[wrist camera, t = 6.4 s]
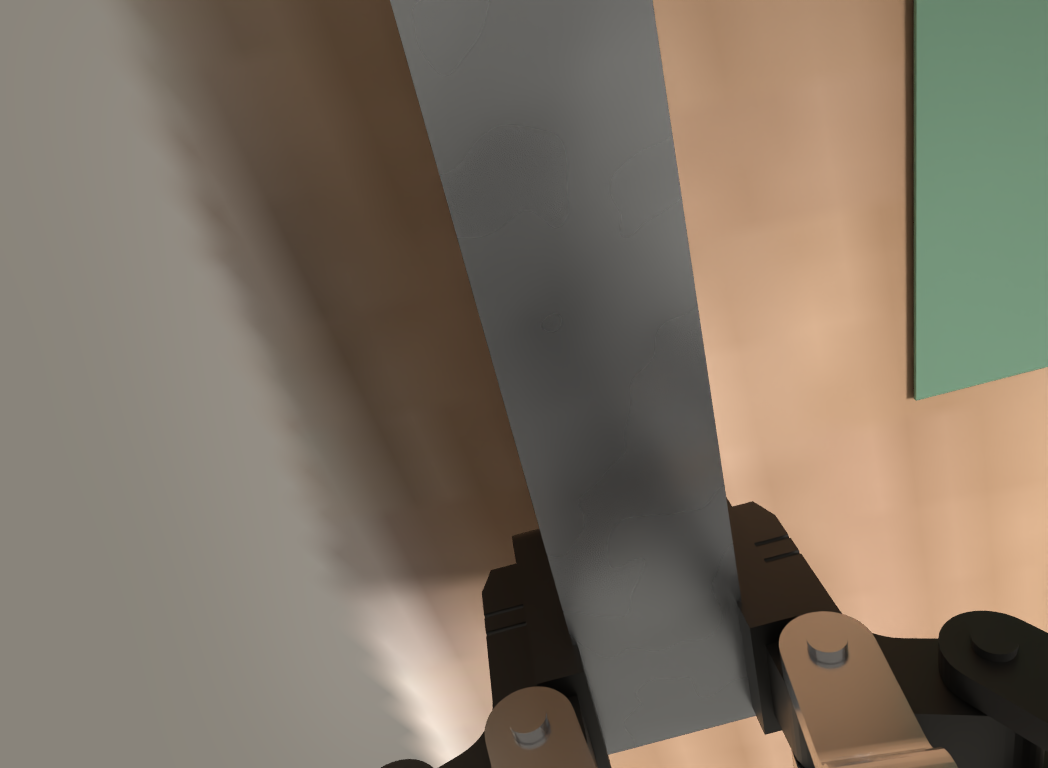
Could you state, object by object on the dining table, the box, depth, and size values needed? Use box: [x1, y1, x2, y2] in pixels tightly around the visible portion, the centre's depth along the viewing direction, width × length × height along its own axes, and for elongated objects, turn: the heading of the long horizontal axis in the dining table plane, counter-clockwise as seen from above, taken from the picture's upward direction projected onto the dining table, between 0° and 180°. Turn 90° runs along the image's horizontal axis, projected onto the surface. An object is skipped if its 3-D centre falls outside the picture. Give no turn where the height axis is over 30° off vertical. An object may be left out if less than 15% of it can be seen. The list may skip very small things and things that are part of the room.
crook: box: [390, 0, 756, 755], centre depth 11 cm, size 16×8×4 cm, turn 13°
